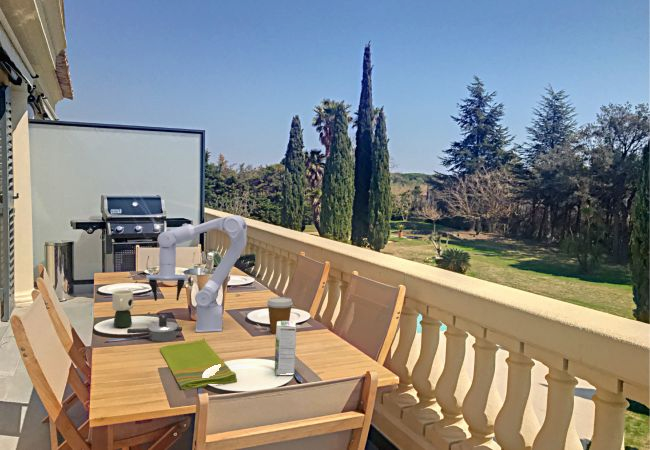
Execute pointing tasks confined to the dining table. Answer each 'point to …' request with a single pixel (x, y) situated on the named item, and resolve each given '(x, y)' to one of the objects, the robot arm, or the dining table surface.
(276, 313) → the disposable coffee cup
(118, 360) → the dining table surface
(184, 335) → the dining table surface
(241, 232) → the robot arm
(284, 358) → the syrup box
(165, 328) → the lid
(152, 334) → the cooker base
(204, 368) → the dish towel
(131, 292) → the character mug
